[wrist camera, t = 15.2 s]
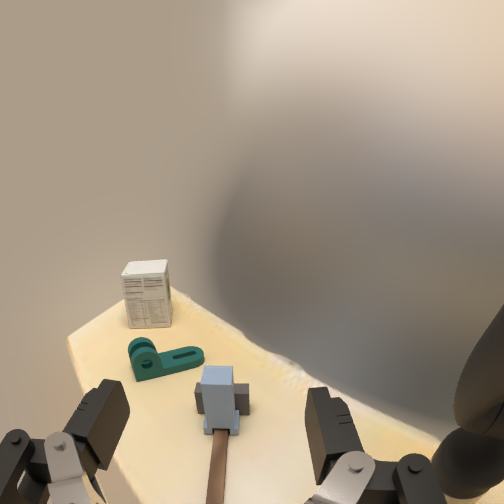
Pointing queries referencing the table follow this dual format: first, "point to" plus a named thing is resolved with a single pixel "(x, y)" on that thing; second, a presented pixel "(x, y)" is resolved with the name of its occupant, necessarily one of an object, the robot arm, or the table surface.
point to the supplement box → (147, 294)
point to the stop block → (239, 393)
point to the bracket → (161, 359)
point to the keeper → (219, 399)
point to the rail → (217, 467)
